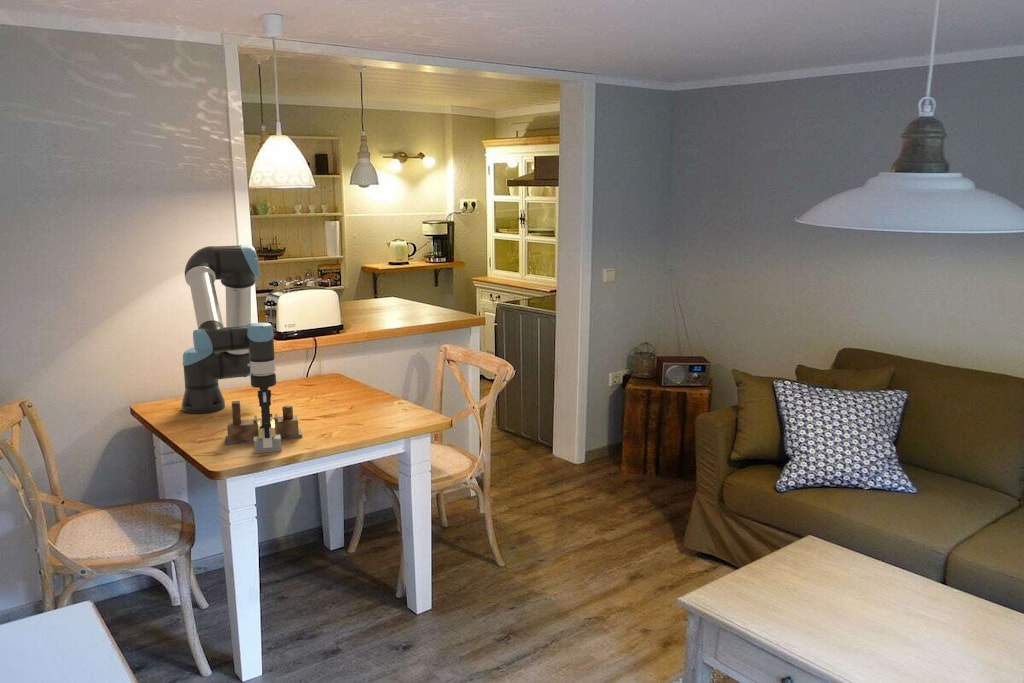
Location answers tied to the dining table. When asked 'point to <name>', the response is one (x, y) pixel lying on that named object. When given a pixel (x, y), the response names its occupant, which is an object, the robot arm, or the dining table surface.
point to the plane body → (249, 428)
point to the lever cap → (271, 428)
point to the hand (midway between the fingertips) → (267, 442)
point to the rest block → (275, 447)
